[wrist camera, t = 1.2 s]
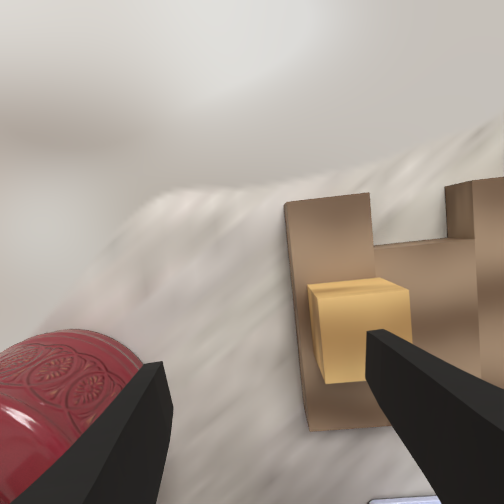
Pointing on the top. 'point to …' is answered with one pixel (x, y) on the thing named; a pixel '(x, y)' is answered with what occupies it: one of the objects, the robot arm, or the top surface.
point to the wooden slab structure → (407, 276)
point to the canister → (54, 398)
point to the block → (354, 323)
